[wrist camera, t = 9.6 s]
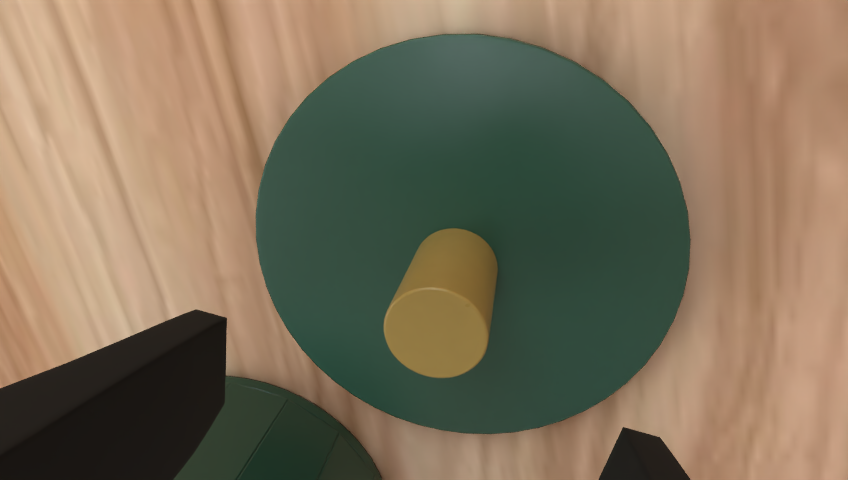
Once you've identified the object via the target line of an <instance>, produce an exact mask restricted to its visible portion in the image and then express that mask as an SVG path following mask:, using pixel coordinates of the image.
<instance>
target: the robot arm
mask: <svg viewBox="0 0 848 480" xmlns="http://www.w3.org/2000/svg"><path fill="white" fill-rule="evenodd" d="M226 328H227V318H225V317H222V316H218V315H214V314H211V313H207V312H203V311H200V310H193V311H191V312H188V313H185V314H183V315H180V316H178V317H175V318H173V319H170V320H168V321H165V322H163V323H161V324H158V325H156V326H154V327H151V328H149V329H147V330H144V331H142V332H140V333H137V334H135V335H133V336H130V337H128V338H126V339H123V340H121V341H118V342H116V343H114V344H111V345H109V346H107V347H104V348H102V349H99V350H97V351H95V352H92V353H90V354H87V355H85V356H83V357H80V358H78V359H76V360H73V361H71V362H68V363H66V364H63V365H61V366H58V367H55V368H53V369H50V370H48V371H45V372H42V373H40V374H37V375H34V376H32V377H29V378H27V379H24V380H21V381H19V382H16V383H14V384H11V385H8V386H6V387H3V388H0V480H173V479H174V478H175V477H176V476H177V474H178V473H179V472H180V470H181V469H182V468H183V467H184V465H185V464H186V463H187V462H188V460H189V459H190V458H191V456H192V455H193V454H194V452H195V451H196V449H197V448H198V446H199V445H200V443H201V441H202V440H203V438H204V437H205V435H206V434H207V432H208V430H209V429H210V427H211V426H212V424H213V422H214V421H215V419H216V417H217V416H218V414H219V412H220V411H221V409H222V407H223V406H224V404H225V375H226ZM599 480H690V478H689V477H688V475H687V474H686V473H685V471H684V470H683V468H682V467H681V465H680V464H679V463H678V461H677V460H676V458H675V457H674V456H673V454H672V453H671V452H670V450H669V449H668V448H667V446H666V445H665V444H664V442H663V441H662V440H661V438H660V437H657V436H653V435H650V434H646V433H642V432H639V431H635V430H631V429H628V428H624V427H623V428H622V431H621V433H620V435H619V437H618V439H617V441H616V443H615V446H614V448H613V450H612V452H611V454H610V456H609V458H608V461H607V463H606V465H605V467H604V469H603V471H602V473H601V476H600V478H599Z"/></svg>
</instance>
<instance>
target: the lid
mask: <svg viewBox="0 0 848 480" xmlns="http://www.w3.org/2000/svg"><path fill="white" fill-rule="evenodd" d="M256 241H257V248H258V254H259V261H260V266H261V269H262V273H263V276H264V280H265V283H266V287H267V289H268V291H269V294H270V296H271V299H272V301H273V303H274V306H275V308H276V310H277V312H278V313H279V315H280V317H281V319H282V321H283V322H284V324H285V326H286V328H287V329H288V331H289V332H290V333H291V335H292V336H293V338H294V339H295V340H296V342H297V343H298V345H299V346H300V347H301V349H302V350H303V351H304V352H305V353H306V354H307V355H308V356H309V357H310V358H311V360H312V361H313V362H314V363H315V364H316V365H317V366H318V367H319V368H320V369H321V370H322V371H324V372H325V373H326V374H327V375H328V376H329V377H330V378H331V379H332V380H334V381H335V382H336V383H337V384H339V385H340V386H342V387H343V388H344V389H346V390H347V391H348V392H350V393H351V394H353V395H354V396H356V397H358V398H359V399H361V400H363V401H364V402H366V403H368V404H369V405H371V406H373V407H375V408H377V409H379V410H381V411H384V412H386V413H388V414H390V415H392V416H395V417H397V418H400V419H403V420H406V421H409V422H412V423H415V424H418V425H422V426H426V427H430V428H434V429H439V430H444V431H451V432H459V433H471V434H497V433H511V432H518V431H524V430H529V429H535V428H539V427H543V426H546V425H549V424H553V423H556V422H559V421H562V420H565V419H567V418H569V417H572V416H574V415H576V414H579V413H581V412H583V411H585V410H587V409H589V408H591V407H592V406H594V405H596V404H597V403H599V402H601V401H603V400H604V399H606V398H607V397H609V396H610V395H611V394H613V393H614V392H615V391H617V390H618V389H619V388H621V387H622V386H623V385H625V384H626V383H627V382H628V381H629V380H630V379H631V378H632V377H633V376H634V375H635V374H636V373H637V372H638V371H639V370H640V369H641V368H642V367H643V366H644V365H645V364H646V363H647V361H648V360H649V359H650V357H651V356H652V355H653V354H654V352H655V351H656V350H657V348H658V347H659V346H660V344H661V343H662V341H663V339H664V337H665V335H666V334H667V332H668V330H669V328H670V326H671V325H672V323H673V321H674V318H675V316H676V313H677V311H678V308H679V305H680V303H681V300H682V297H683V294H684V289H685V285H686V280H687V275H688V271H689V259H690V241H691V239H690V230H689V220H688V211H687V207H686V203H685V199H684V195H683V192H682V188H681V184H680V181H679V179H678V176H677V174H676V172H675V169H674V167H673V165H672V163H671V160H670V158H669V156H668V153H667V152H666V150H665V149H664V147H663V146H662V144H661V142H660V141H659V139H658V138H657V136H656V135H655V133H654V131H653V130H652V128H651V127H650V125H649V124H648V123H647V122H646V121H645V120H644V119H643V117H642V116H641V115H640V114H639V113H638V112H637V111H636V109H635V108H634V107H633V106H632V105H631V104H630V103H629V101H627V100H626V99H625V98H624V97H623V96H622V95H620V94H619V93H618V92H617V91H616V90H615V89H613V88H612V87H611V86H610V85H609V84H607V83H606V82H605V81H604V80H603V79H601V78H600V77H598V76H597V75H595V74H593V73H592V72H590V71H589V70H587V69H586V68H584V67H582V66H581V65H579V64H578V63H576V62H574V61H573V60H570V59H568V58H566V57H564V56H561V55H559V54H557V53H555V52H552V51H550V50H548V49H546V48H543V47H540V46H536V45H533V44H529V43H526V42H522V41H519V40H515V39H512V38H505V37H498V36H490V35H483V34H442V35H436V36H429V37H423V38H416V39H410V40H407V41H403V42H400V43H397V44H394V45H390V46H387V47H384V48H380V49H378V50H376V51H374V52H372V53H370V54H368V55H366V56H363V57H361V58H359V59H357V60H355V61H353V62H351V63H350V64H348V65H347V66H345V67H344V68H342V69H341V70H339V71H338V72H336V73H335V74H333V75H332V76H330V77H329V78H327V79H326V80H325V81H324V82H323V83H322V84H321V85H320V86H318V87H317V88H316V89H315V90H314V91H313V92H312V93H311V94H310V95H308V96H307V97H306V99H305V100H304V101H303V102H302V103H301V105H300V106H299V107H298V108H297V109H296V111H295V112H294V113H293V114H292V115H291V117H290V118H289V119H288V121H287V123H286V124H285V126H284V128H283V129H282V131H281V133H280V134H279V136H278V138H277V139H276V141H275V143H274V145H273V148H272V150H271V153H270V155H269V157H268V160H267V162H266V164H265V168H264V172H263V176H262V179H261V183H260V187H259V192H258V200H257V209H256Z"/></svg>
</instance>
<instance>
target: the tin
mask: <svg viewBox="0 0 848 480" xmlns="http://www.w3.org/2000/svg"><path fill="white" fill-rule="evenodd" d="M173 480H382V479H381V476H380V474H379V472H378V470H377V468H376V466H375V464H374V463H373V461H372V459H371V458H370V456H369V455H368V453H367V452H366V451H365V449H364V448H363V447H362V445H361V444H360V443H359V442H358V441H357V440H356V438H355V437H354V436H353V435H352V434H351V433H350V432H349V431H348V430H347V429H346V428H345V427H344V426H342V425H341V424H340V423H339V422H338V421H337V420H336V419H334V418H333V417H332V416H330V415H329V414H328V413H326V412H325V411H323V410H322V409H321V408H319V407H318V406H316V405H314V404H312V403H311V402H309V401H307V400H306V399H304V398H302V397H300V396H298V395H296V394H293V393H291V392H289V391H287V390H285V389H282V388H279V387H276V386H273V385H270V384H268V383H264V382H260V381H256V380H251V379H247V378H239V377H231V376H225V404H224V406H223V407H222V409H221V411H220V412H219V414H218V416H217V417H216V419H215V421H214V422H213V424H212V426H211V427H210V429H209V430H208V432H207V434H206V435H205V437H204V438H203V440H202V441H201V443H200V445H199V446H198V448H197V449H196V451H195V452H194V454H193V455H192V456H191V458H190V459H189V460H188V462H187V463H186V464H185V465H184V467H183V468H182V469H181V470H180V472H179V473H178V474H177V476H176V477H175V478H174V479H173Z"/></svg>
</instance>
